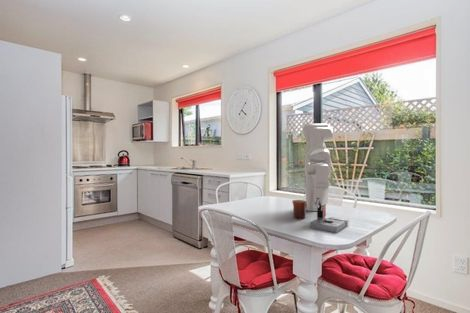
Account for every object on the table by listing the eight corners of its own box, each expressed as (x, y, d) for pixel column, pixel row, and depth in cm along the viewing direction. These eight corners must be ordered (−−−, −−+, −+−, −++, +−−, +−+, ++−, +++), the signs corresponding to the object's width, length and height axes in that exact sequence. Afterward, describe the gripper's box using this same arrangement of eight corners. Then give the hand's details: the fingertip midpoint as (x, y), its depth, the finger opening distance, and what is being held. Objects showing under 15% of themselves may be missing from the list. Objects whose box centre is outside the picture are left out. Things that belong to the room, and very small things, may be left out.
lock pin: (317, 220, 160) (317, 203, 160) (319, 219, 163) (319, 202, 162) (322, 221, 158) (323, 204, 158) (324, 220, 161) (325, 203, 160)
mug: (301, 220, 161) (301, 203, 161) (289, 217, 167) (289, 201, 167) (312, 217, 169) (312, 200, 169) (299, 214, 175) (300, 198, 175)
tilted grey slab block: (328, 223, 155) (328, 217, 155) (330, 222, 157) (330, 216, 157) (346, 227, 148) (346, 220, 148) (348, 225, 151) (348, 219, 151)
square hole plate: (310, 227, 145) (310, 222, 145) (320, 222, 156) (320, 217, 156) (336, 232, 136) (336, 226, 136) (345, 227, 147) (345, 221, 147)
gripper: (320, 183, 168) (320, 213, 169) (309, 186, 156) (309, 218, 156) (333, 184, 164) (332, 215, 164) (322, 187, 151) (322, 220, 151)
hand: (321, 216), depth 160 cm, fingers closed on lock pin, 3 cm apart
